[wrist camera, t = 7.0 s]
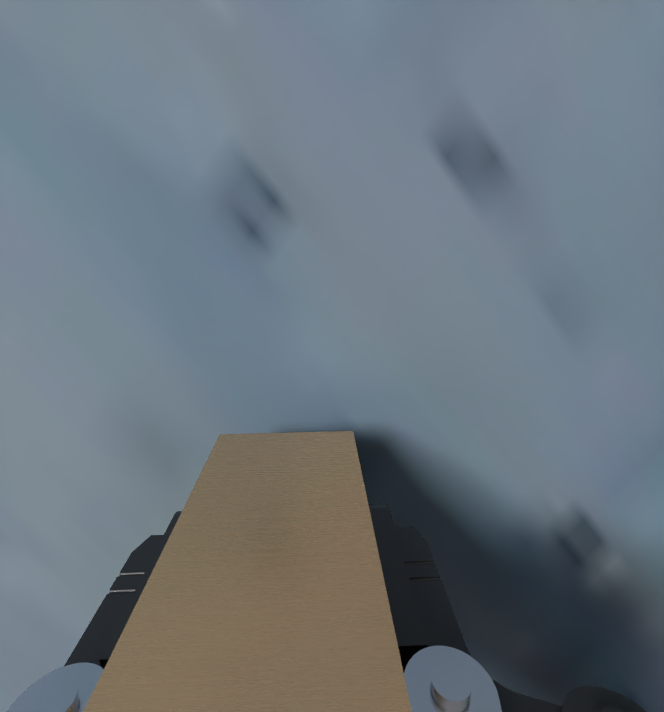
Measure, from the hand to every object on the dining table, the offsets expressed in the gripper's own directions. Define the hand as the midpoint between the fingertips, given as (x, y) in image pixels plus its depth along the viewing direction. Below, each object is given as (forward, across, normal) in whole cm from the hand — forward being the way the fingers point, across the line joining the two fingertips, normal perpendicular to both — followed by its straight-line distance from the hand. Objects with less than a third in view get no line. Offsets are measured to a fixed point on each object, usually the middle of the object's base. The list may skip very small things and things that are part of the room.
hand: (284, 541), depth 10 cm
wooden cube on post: (+2, 0, +7) cm, 7 cm away
